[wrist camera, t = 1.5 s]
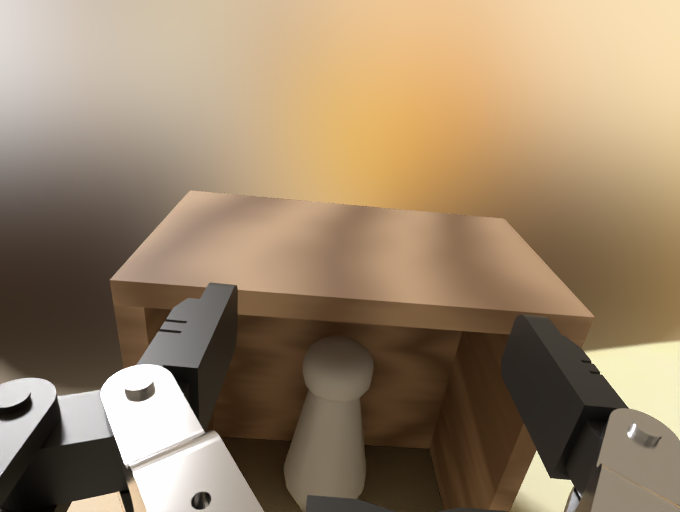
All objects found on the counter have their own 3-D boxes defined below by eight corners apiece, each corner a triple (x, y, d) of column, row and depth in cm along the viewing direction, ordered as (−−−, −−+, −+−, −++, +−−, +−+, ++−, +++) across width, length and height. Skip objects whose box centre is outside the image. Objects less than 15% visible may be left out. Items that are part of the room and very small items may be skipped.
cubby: (440, 437, 37) (504, 218, 28) (478, 581, 28) (594, 317, 19) (203, 423, 36) (189, 190, 27) (155, 568, 26) (109, 280, 17)
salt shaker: (352, 543, 29) (380, 397, 23) (270, 518, 30) (277, 372, 24) (367, 468, 34) (393, 333, 28) (297, 449, 35) (308, 314, 29)
